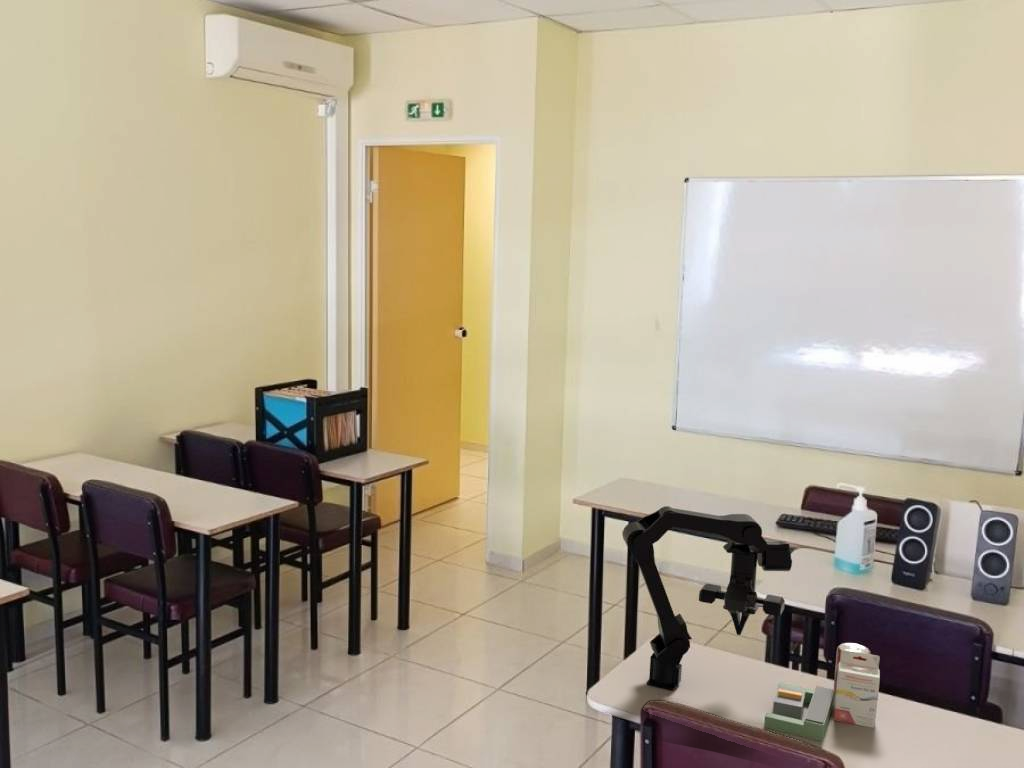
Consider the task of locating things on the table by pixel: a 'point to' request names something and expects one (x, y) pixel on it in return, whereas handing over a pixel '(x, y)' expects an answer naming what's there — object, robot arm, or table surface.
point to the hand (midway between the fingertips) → (739, 634)
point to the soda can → (854, 648)
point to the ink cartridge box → (857, 689)
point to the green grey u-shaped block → (814, 717)
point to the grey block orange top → (789, 702)
